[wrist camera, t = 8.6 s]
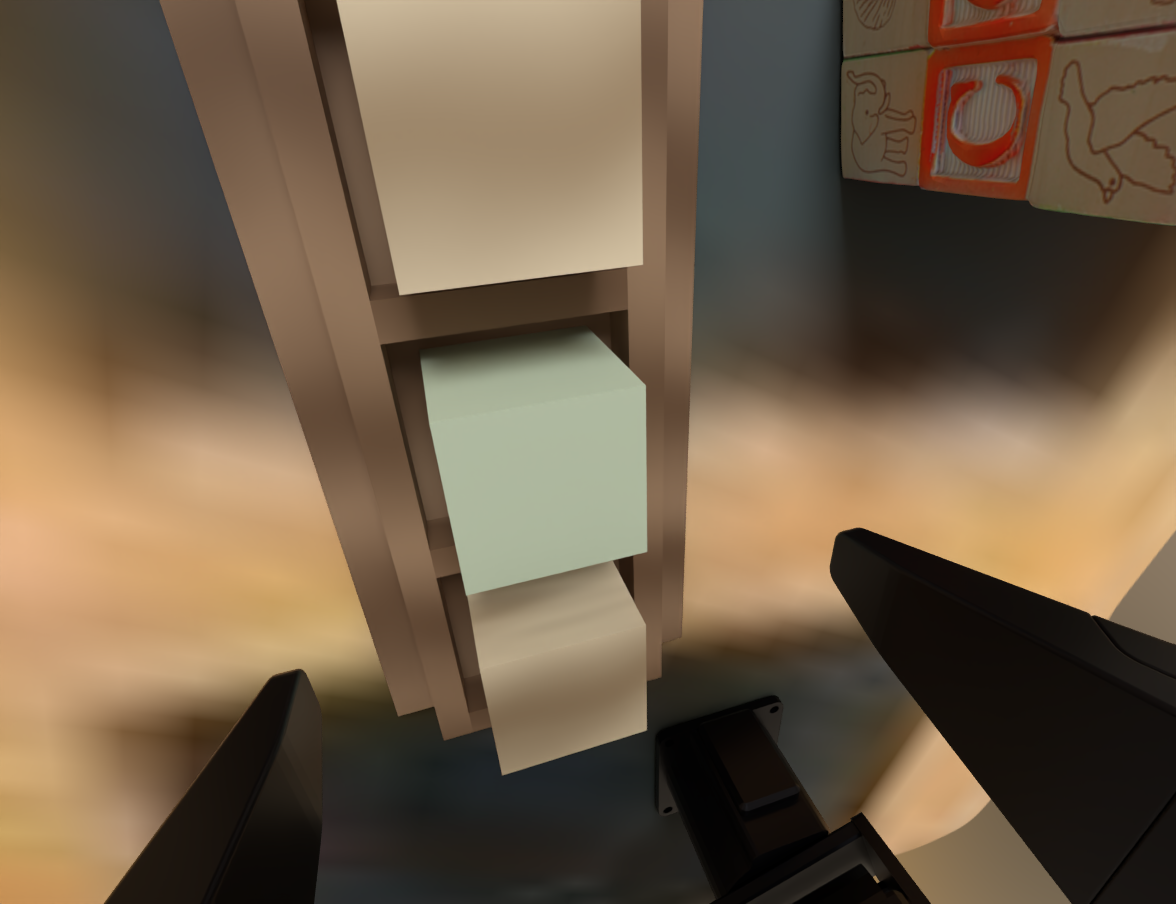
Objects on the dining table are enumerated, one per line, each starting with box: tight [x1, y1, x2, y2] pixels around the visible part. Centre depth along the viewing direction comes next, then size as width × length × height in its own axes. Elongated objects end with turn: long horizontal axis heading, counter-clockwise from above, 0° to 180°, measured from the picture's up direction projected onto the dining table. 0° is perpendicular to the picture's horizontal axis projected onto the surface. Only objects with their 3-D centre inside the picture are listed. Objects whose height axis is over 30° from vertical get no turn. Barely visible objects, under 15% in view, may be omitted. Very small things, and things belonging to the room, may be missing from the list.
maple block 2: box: [467, 560, 647, 775], centre depth 18 cm, size 4×4×4 cm
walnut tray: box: [159, 0, 703, 741], centre depth 17 cm, size 22×11×2 cm, turn 3°
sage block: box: [419, 325, 647, 596], centre depth 15 cm, size 4×4×4 cm
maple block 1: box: [337, 0, 643, 295], centre depth 11 cm, size 4×4×4 cm
